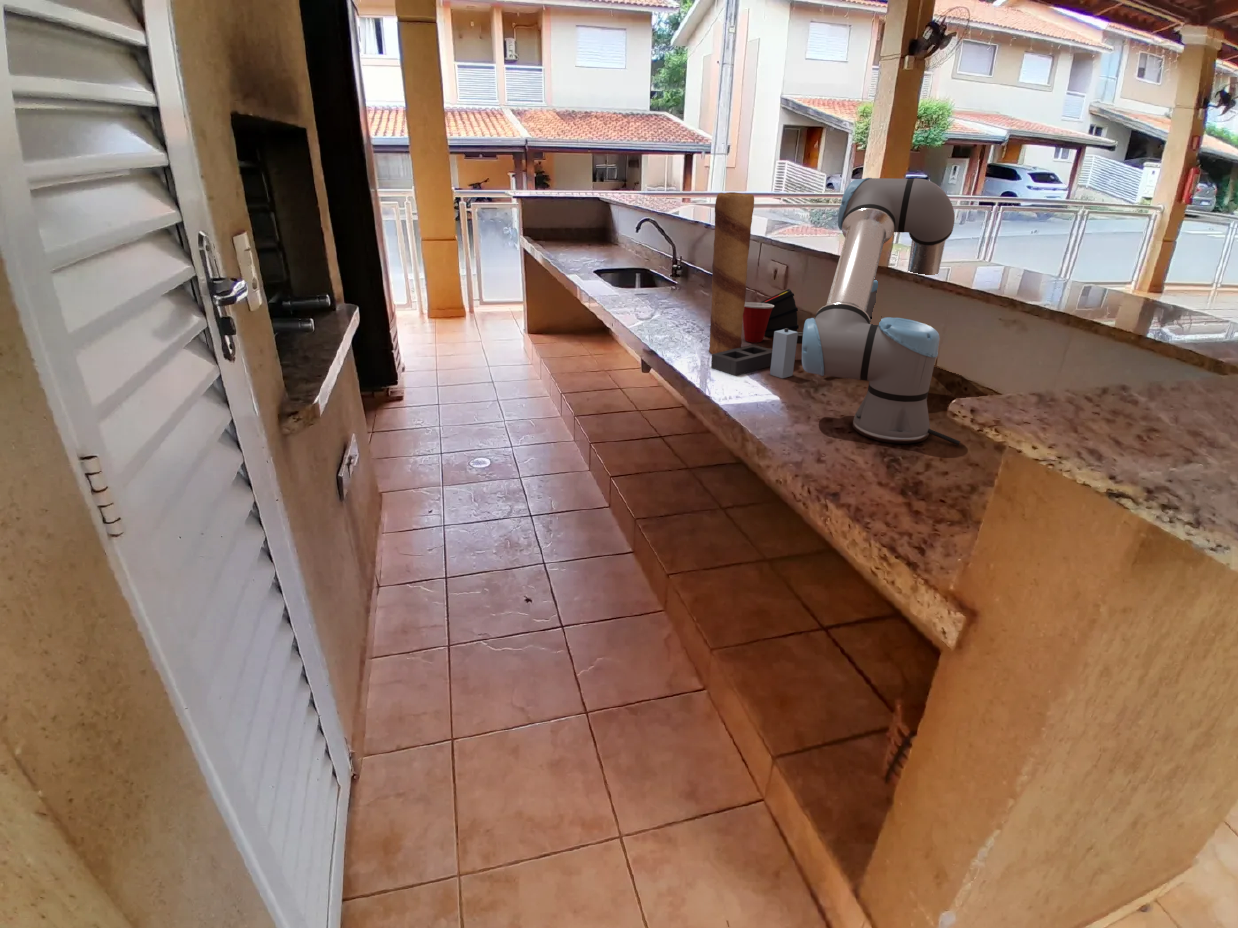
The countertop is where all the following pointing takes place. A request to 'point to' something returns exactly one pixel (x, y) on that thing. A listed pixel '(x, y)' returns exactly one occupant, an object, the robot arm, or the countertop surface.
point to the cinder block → (742, 359)
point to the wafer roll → (730, 269)
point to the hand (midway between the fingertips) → (798, 348)
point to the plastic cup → (755, 320)
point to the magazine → (782, 313)
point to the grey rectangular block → (783, 353)
